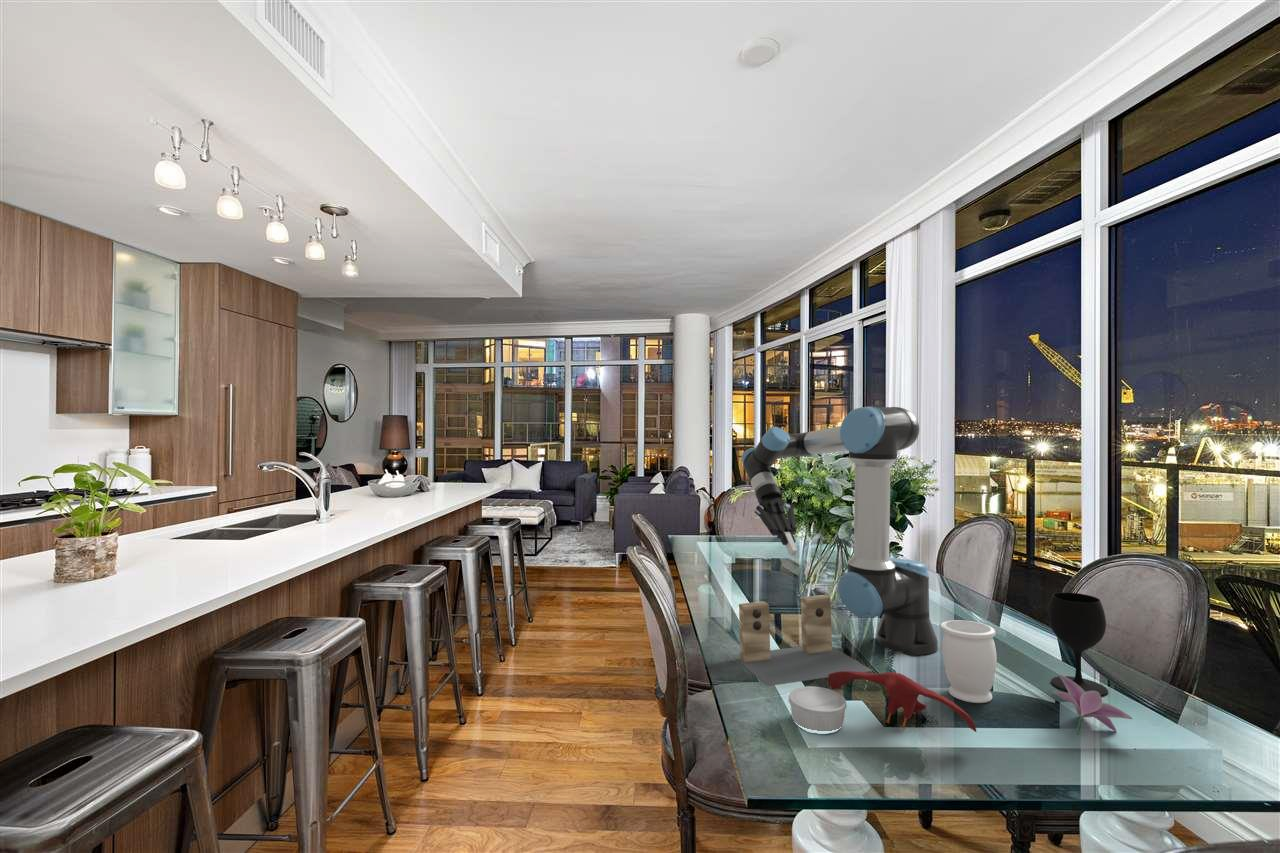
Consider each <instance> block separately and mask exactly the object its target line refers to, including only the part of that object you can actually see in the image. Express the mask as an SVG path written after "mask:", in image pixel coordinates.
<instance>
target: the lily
mask: <svg viewBox="0 0 1280 853" xmlns="http://www.w3.org/2000/svg"><path fill="white" fill-rule="evenodd" d="M1058 676H1060V678H1061V680H1062V681H1063V683H1064V684H1065V686H1066V688H1067V690H1068V692H1069V693H1068V692H1065V691H1058V690H1057V691H1055V690H1054V691H1052V694H1054V695H1056V696H1058V697H1060V698H1062V699H1064V700H1066V701H1067V702H1069V703H1071V704H1072V705H1074V707H1075V711H1076V714H1077V716H1078V717H1079V719H1078V723H1077V728H1076V733H1075V735H1076V736H1078V735H1079V733H1080V727H1081V722H1082V719H1085V718H1086V719H1087V718H1095V719H1096V720H1098V721H1099V722H1101V723H1102V724H1104V725H1105V726H1106V727H1107V728H1109V729H1110V730H1112V731H1113V732H1115V733H1117V729H1116V726H1115V725H1114V723H1113V721H1112V720H1111V719H1110V718H1116V719H1117V718H1118V719H1119V718H1120V719H1125V720H1126V719H1127V720H1133V717H1132V716H1131V715H1129V714H1128V713H1126V712H1124V711H1123V710H1121V709H1120V708H1117V707H1116V706H1114V705H1112V704H1109V703H1106V702H1103V699H1102V697H1101V696H1100V694H1099V692H1097V691H1087V692H1085V691H1084V690H1083V689H1082V688H1081V687H1080V686H1079V685H1077V684H1076V683H1075V682H1073V681H1072V680H1070V679H1068V678H1067V677H1065V676H1066V675H1063V674H1061V673H1058Z"/></svg>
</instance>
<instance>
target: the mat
mask: <svg viewBox="0 0 1280 853" xmlns="http://www.w3.org/2000/svg"><path fill="white" fill-rule="evenodd" d="M731 656H732V657H733V658H734V659H735V660H737V661H738V662H739V663H740V664H741V665H742V666H744V668H745V669H747V670H748V671H749V672H751V673H752V674H753V675H754V676H755V677H756V678H757V679H759V680H760V681H761V682H762V683H764V685H766V686H767V687H771V686H778V685H785V684H790V683H798V682H804V681H812V680H818V679H826V678H827V679H828V675H829V674H831V673H834V672H839V671H854V672H856V671H857V672H865V673H870V672H874V671H873V670H872V668H869V667H868V666H866V665H864V664H862V663H861V662H860V661H858V660H856V659H854V658H853V657H851V656H849V655H847V654H846V653H844V652H842V651H841V650H839V649H837V648H836V647H834V646H832V651H829V652H821V653H814V654H807V653H806V652H804V651H803V650H802V645H801V646H795V647H787V648H778V649H770V660H762V661H754V662H747V663H745V662H744V661H743V660H742V659H740V653H739V654H732V655H731Z"/></svg>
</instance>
